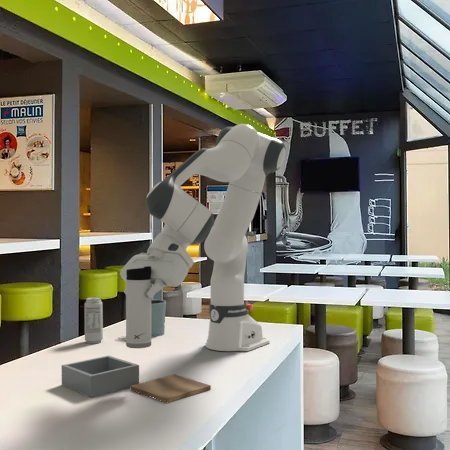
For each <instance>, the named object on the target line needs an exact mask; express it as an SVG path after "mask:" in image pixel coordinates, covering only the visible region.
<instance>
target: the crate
mask: <svg viewBox="0 0 450 450" xmlns="http://www.w3.org/2000/svg"><path fill="white" fill-rule="evenodd" d="M139 383H140V365H139V364H136V363H133V362H131V361H129V360H128V361H127V360H123V359H121V358H118V357H114V356H112V355H105V356H101V357H95V358H90V359H85V360H80V361H75V362H71V363H67V364H62V365H61V385H62V386H63V387H65V388H69V389H71V390H73V391H75V392H78V393H80V394H82V395H85V396H87V397H89V398H93V397H98V396H102V395H105V394H109V393H112V392H116V391H120V390H123V389H127V388H131V386H132V385H135V384H139Z"/></svg>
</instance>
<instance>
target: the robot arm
mask: <svg viewBox="0 0 450 450" xmlns="http://www.w3.org/2000/svg"><path fill="white" fill-rule="evenodd" d="M286 149H287V148H286V146H285V143H284V142H283V141H281V140H280V139H278V138H277V137H271V136H269V135H267V134H264V133H261V132H258V130H257V129H255V127H253V126H251V125H250V124H247V123H246V124H245V123H239V124H236V125H234V126H226V127H224V128H222V129H221V130H220V131H219V132H218V135H217V137H216V141H215V146H214V147H211V148H208V147H207V148H206V147H202V148H200V149H198V150H196V151H195V152H194V153H193V154H191V156H190V157H188V158H187V159H186V160H185V161H184V162H183V163H181V165H179V166H178V167H177V168H176V169H175V170H173V171H172V172H171V173H170V174H169V175H167V177H165V178H164V179H162V180H161V181H159V182H157V183H156V184H155V185H154V186H153V187H152V188H151V189H150V190H149V191H148V193H147V195H146V198H145V201H144V202H145V207H146V210H147V212H148V214H149V215H150V216H152V217H154V218H155V219H157V220H158V221H161V222H163V223H164V225H163V228H162V230H161V231H160V232H159V233H158V234H157V235H156V236H155V238H154V239H153V241H152V242H151V244H150V245H149V247H147V248H148V249H147V252H140V253H139V254H136V255H133V256H132V257H131V258H130V259H128V261H127V262H126V264H125V265H124V266H123V267H122V268H121V270H120V271H119V272H120V273H119V275H120V277H121V279H123V281H124V282H125V283H126V282H127V281H126V277H127V275H126V270H128V269H137V268H144V267H146V266H151V276H150V277H151V288H150V289H147V290H146V292H145V296H146V297H147V298H151V299H153V298H154V296H155V294H157V293H158V292H160V291H161V290H162V289H163V288H164V287H173V288H177V287H179V286H180V285H182V283H183V282H184V280H185V278H186V277H187V275H188V273H189V272H190V268H192V267H193V265H194V264H195V262H194V260H193V258H192V257H191V255H190V254H189V252H188V251H187V249H188V246H191V245H192V246H194V245H198V244H202V243H203V242H204V245H203V249H204V252H205V254H206V256H207V257H208V258H209V259H210V260H211V261H213V269H212V274H211V278H210V303H208V304H209V307H208V313H209V314H208V315H209V317H210V318H209V322H208V323H209V324H208V332H207V333H208V334H207V339H206V343H205V348H207V349H209V350H212V351H218V352H219V351H220V352H249V351H252V350H254V349H258V348H259V347H262V346H265V345H268V344H270V339H268V338H266V337H263V336H264V335H263V329H262V325H261V324H260V323H259V322H258V321H257V320H255V319H254V318H253V317H252V316H250V314H249V312H248V310H249V311H252V310H253V309H254V305H253V304H252V303H245V272H246V266H247V256H248V246H249V245H248V244H249V243H248V238H247V236H246V234H247V231H248V228H249V227H250V225H251V223H252V221H253V219H254V217H255V214H256V211H257V209H258V205H259V202H260V199H261V196H262V193H263V190H264V185H265V181H266V176H269V175H270V174H273V173H275V172H277V171H278V170H279V169H280V168H281V167H282V165H283V163H284V162H285V159H286ZM194 175H199V176H204V177H206V178H209V179H212V180H215V181H218V182H220V183H221V182H222V183H228V186H227V189H226V192H225V196H224V199H223V201H222V204H221V206H220V209H219V212H218V214H217V216H216V218H215V217H214V216H215V215H214V213H213V212H212V211H211V210H210V209H209V208H208V207H206V206H205V205H204V204H202V203H201V202H200V201H198V200H197V199H195V197H193V196H192V195H190V194H189V193H187V192H186V191H185V190H184V189H183V188H182V187H181V186H182V185H183V184H184V183H185V182H186V181H187V180H188V179H189V178H191V177H192V176H194ZM123 293H124V294H125V295H126V288H125V289H124V291H123Z"/></svg>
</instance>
